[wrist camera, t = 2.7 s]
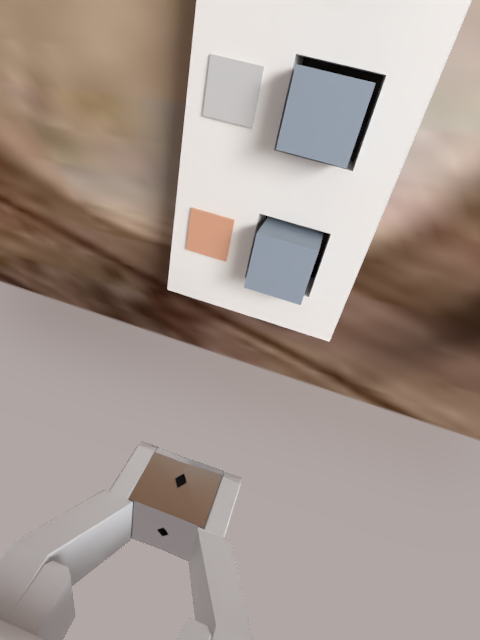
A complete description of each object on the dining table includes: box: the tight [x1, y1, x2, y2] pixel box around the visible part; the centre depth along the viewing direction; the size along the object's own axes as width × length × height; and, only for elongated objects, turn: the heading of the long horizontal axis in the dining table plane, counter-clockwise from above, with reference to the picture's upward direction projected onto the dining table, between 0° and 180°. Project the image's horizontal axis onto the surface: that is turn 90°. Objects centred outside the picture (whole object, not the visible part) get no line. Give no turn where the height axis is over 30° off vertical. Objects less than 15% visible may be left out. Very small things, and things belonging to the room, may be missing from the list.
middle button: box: [276, 64, 376, 168], centre depth 19 cm, size 4×4×3 cm
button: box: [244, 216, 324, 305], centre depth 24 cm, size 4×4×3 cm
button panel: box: [167, 0, 472, 341], centre depth 21 cm, size 26×12×3 cm, turn 168°
